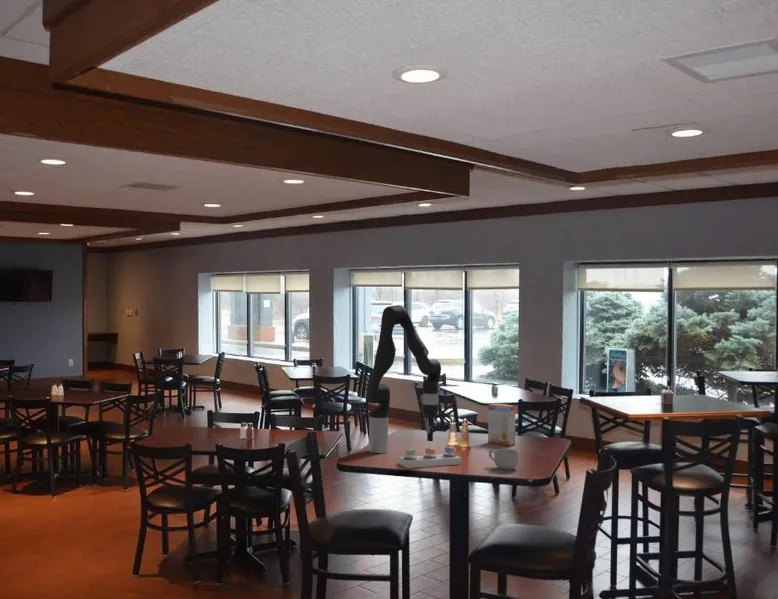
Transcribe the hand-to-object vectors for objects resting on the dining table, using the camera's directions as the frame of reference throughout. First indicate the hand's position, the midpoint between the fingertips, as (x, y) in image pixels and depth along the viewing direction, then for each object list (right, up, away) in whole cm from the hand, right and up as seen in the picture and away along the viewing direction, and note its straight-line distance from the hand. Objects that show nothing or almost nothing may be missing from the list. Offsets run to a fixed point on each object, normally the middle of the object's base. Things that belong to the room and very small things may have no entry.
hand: (430, 440), depth 344 cm
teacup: (+33, -11, -6) cm, 35 cm away
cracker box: (+41, -12, +55) cm, 69 cm away
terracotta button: (0, -6, 0) cm, 6 cm away
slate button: (+9, -6, +4) cm, 12 cm away
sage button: (-9, -5, -4) cm, 11 cm away
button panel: (0, -11, 0) cm, 11 cm away
